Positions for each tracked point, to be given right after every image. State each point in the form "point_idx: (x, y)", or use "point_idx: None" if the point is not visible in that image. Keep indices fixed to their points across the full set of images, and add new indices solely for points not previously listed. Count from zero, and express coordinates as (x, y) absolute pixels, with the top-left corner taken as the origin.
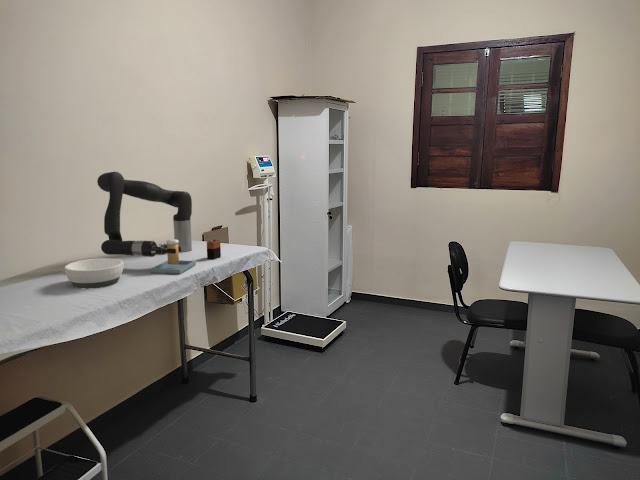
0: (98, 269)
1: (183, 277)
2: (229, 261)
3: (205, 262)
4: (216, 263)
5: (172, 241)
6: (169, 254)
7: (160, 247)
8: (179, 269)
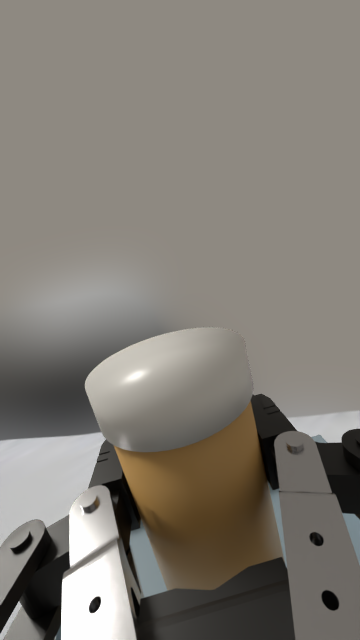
0: None
1: (346, 415)
2: (34, 439)
3: (18, 519)
4: (61, 458)
5: (225, 329)
6: (270, 496)
7: (353, 556)
8: (317, 440)
